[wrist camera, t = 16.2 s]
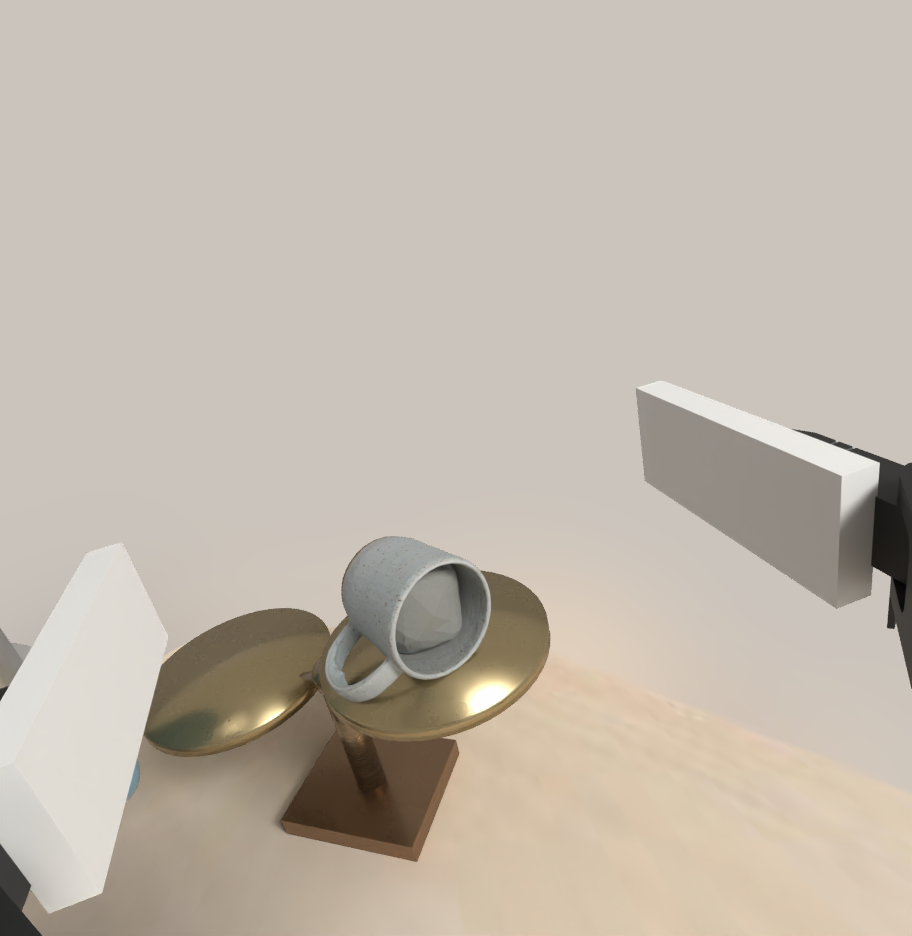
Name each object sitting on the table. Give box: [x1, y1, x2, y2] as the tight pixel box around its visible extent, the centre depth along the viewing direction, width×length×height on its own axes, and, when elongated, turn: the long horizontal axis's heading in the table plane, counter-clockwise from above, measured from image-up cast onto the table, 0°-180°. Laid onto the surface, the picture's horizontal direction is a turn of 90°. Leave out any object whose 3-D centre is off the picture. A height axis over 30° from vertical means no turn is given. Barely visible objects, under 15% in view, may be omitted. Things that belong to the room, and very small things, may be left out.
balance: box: [143, 571, 550, 862], centre depth 51 cm, size 35×16×18 cm, turn 70°
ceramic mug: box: [325, 536, 491, 702], centre depth 41 cm, size 11×8×8 cm
